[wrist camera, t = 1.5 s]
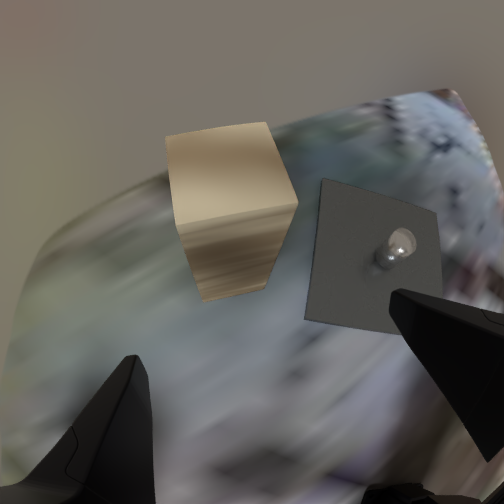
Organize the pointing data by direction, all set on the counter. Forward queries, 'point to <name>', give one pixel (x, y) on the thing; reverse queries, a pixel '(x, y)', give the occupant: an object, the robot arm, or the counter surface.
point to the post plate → (369, 257)
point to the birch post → (230, 205)
